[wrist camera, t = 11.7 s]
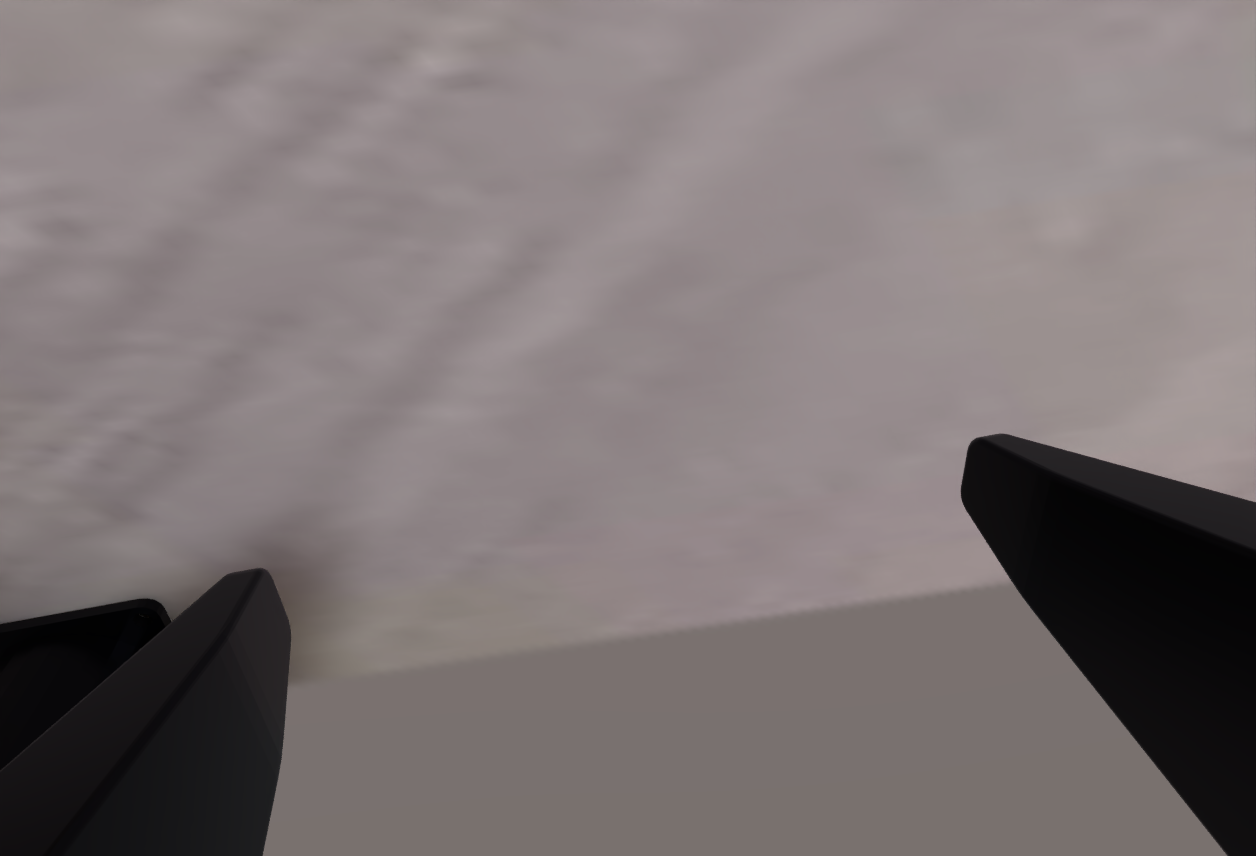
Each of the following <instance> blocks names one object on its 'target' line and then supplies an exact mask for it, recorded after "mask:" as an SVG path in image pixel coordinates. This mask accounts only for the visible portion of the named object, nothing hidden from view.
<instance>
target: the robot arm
mask: <svg viewBox="0 0 1256 856" xmlns="http://www.w3.org/2000/svg"><path fill="white" fill-rule="evenodd" d="M961 498H962V502H963V505H964V507H965V509H966V511H967V512H968V514H969V515H970V517H971V518H972V520H973V522H974V523H975V525H976V526H977V528H978V529H979V531H980V533H981V534H982V536H983V537H984V539H985V540H986V542H987V543H988V545H989V547H990V548H991V550H992V551H993V553H994V554H995V556H996V557H997V559H998V561H999V562H1000V564H1001V565H1002V567H1003V568H1004V570H1005V572H1006V573H1007V575H1008V576H1009V578H1010V579H1011V581H1012V582H1013V584H1014V585H1015V587H1016V588H1017V590H1018V591H1019V593H1020V594H1021V595H1022V597H1023V598H1024V600H1025V601H1026V602H1027V604H1028V605H1029V606H1030V608H1031V609H1032V610H1033V612H1034V613H1035V614H1036V615H1037V617H1038V618H1039V619H1040V620H1041V622H1042V623H1043V624H1044V626H1045V627H1046V628H1047V629H1048V630H1049V631H1050V633H1051V634H1052V636H1053V637H1054V638H1055V639H1056V641H1057V642H1058V643H1059V644H1060V646H1061V647H1062V648H1063V649H1064V650H1065V652H1066V653H1067V654H1068V656H1069V657H1070V658H1071V659H1072V661H1073V662H1074V663H1075V665H1076V666H1077V667H1078V668H1079V670H1080V671H1081V672H1082V673H1083V675H1084V676H1085V677H1086V678H1087V680H1088V681H1089V682H1090V683H1091V685H1092V686H1093V687H1094V688H1095V690H1096V691H1097V692H1098V693H1099V694H1100V696H1101V697H1102V698H1103V700H1104V701H1105V702H1106V703H1107V705H1108V706H1109V707H1110V709H1111V710H1112V711H1113V712H1114V713H1115V715H1116V716H1117V717H1118V719H1119V720H1120V721H1121V722H1122V724H1123V725H1124V726H1125V727H1126V729H1127V730H1128V731H1129V732H1130V734H1131V735H1132V736H1133V737H1134V739H1135V740H1136V741H1137V742H1138V744H1139V745H1140V746H1141V748H1142V749H1143V750H1144V751H1145V753H1146V754H1147V755H1148V756H1149V757H1150V759H1151V760H1152V761H1153V762H1154V764H1155V765H1156V766H1157V768H1158V769H1159V770H1160V771H1161V773H1162V774H1163V775H1164V776H1165V778H1166V779H1167V780H1168V781H1169V783H1170V784H1171V785H1172V787H1173V788H1174V789H1175V790H1176V792H1177V793H1178V794H1179V795H1180V797H1181V798H1182V799H1183V800H1184V802H1185V803H1186V804H1187V805H1188V807H1189V808H1190V809H1191V810H1192V812H1193V813H1194V814H1195V815H1196V817H1197V818H1198V819H1199V820H1200V822H1201V823H1202V824H1203V826H1204V827H1205V828H1206V829H1207V831H1208V832H1209V833H1210V834H1211V836H1212V837H1213V838H1214V839H1215V840H1216V842H1217V843H1218V844H1219V846H1220V847H1221V848H1222V849H1223V851H1224V852H1225V853H1226V854H1227V856H1256V502H1253V501H1249V500H1245V499H1242V498H1238V497H1234V496H1231V495H1227V494H1223V493H1220V492H1216V491H1212V490H1209V489H1205V488H1202V487H1198V486H1194V485H1191V484H1187V483H1183V482H1180V481H1176V480H1172V479H1169V478H1165V477H1161V476H1158V475H1154V474H1150V473H1147V472H1143V471H1139V470H1136V469H1132V468H1128V467H1125V466H1121V465H1117V464H1114V463H1110V462H1107V461H1103V460H1099V459H1096V458H1092V457H1088V456H1085V455H1081V454H1077V453H1074V452H1070V451H1066V450H1063V449H1059V448H1055V447H1052V446H1048V445H1044V444H1041V443H1037V442H1033V441H1030V440H1026V439H1023V438H1019V437H1015V436H1012V435H1008V434H995V435H989V436H984V437H979V438H976V439H974V440H973V441H972V442H971V443H970V445H969V447H968V450H967V456H966V462H965V468H964V473H963V479H962V485H961ZM139 614H146V615H149V616H150V617H151V618H145V617H142V616H140V615H139ZM290 647H291V630H290V624H289V620H288V617H287V615H286V612H285V610H284V607H283V604H282V602H281V599H280V597H279V594H278V591H277V589H276V586H275V584H274V581H273V579H272V576H271V575H270V573H269V572H268V571H267V570H265V569H263V568H256V569H251V570H245V571H239V572H234V573H230V574H227V575H226V576H224V577H223V578H222V579H221V580H220V581H218V582H217V583H216V584H215V585H214V586H213V587H211V588H210V589H209V590H208V591H207V592H206V593H205V594H203V595H202V596H201V597H200V598H199V599H198V600H196V601H195V602H194V603H193V604H192V605H191V606H190V607H188V608H187V609H186V610H185V611H184V612H183V613H181V614H180V615H179V616H178V617H177V618H176V619H175V620H173V621H172V622H171V620H170V618H169V616H168V614H167V612H166V610H165V608H164V607H163V606H162V604H161V603H159V602H157V601H156V600H152V599H137V600H132V601H126V602H121V603H116V604H110V605H105V606H99V607H94V608H88V609H83V610H77V611H72V612H67V613H61V614H56V615H50V616H45V617H39V618H34V619H28V620H23V621H18V622H12V623H7V624H1V625H0V856H263V851H264V845H265V841H266V836H267V831H268V826H269V821H270V816H271V811H272V806H273V801H274V796H275V791H276V786H277V781H278V776H279V770H280V764H281V758H282V749H283V748H282V747H283V738H284V726H285V713H286V699H287V687H288V673H289V660H290Z"/></svg>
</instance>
